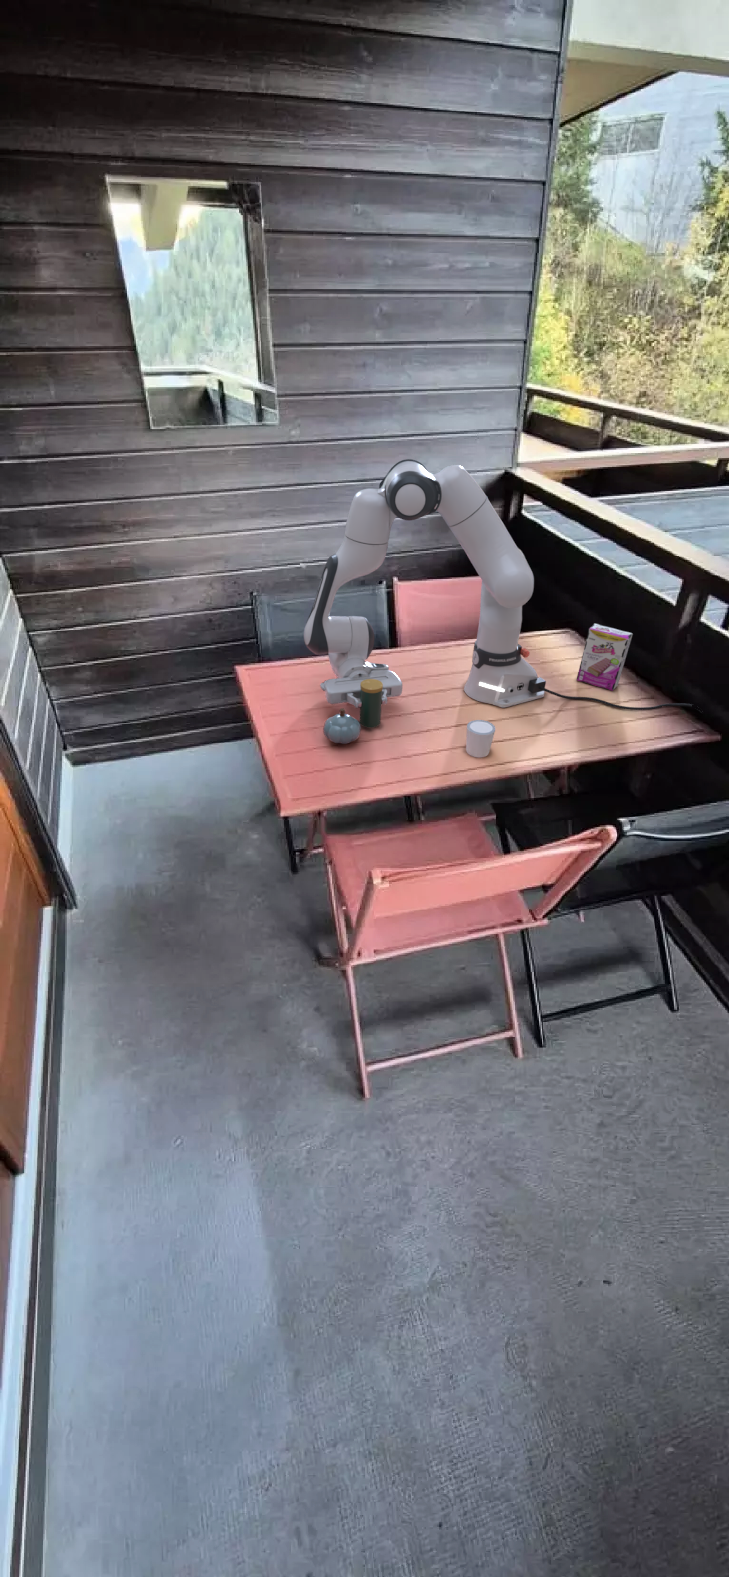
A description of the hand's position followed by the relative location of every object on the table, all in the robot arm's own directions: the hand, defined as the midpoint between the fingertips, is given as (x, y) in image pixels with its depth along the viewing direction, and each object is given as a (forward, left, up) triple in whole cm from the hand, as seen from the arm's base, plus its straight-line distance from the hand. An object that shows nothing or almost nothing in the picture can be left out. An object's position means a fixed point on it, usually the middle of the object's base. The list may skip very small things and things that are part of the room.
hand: (372, 703), depth 175 cm
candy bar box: (-71, -7, -7) cm, 72 cm away
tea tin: (0, -1, -6) cm, 6 cm away
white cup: (-22, +17, -7) cm, 29 cm away
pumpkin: (+9, +4, -7) cm, 12 cm away
